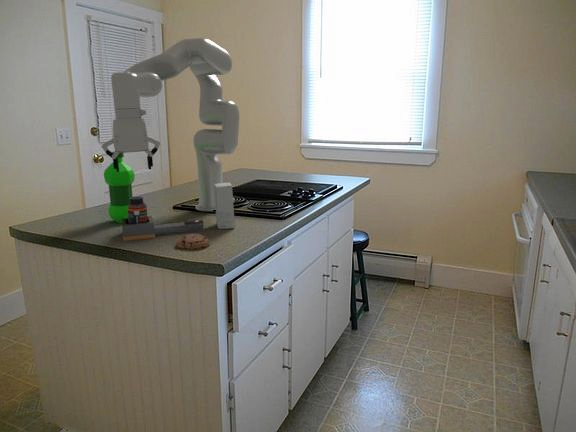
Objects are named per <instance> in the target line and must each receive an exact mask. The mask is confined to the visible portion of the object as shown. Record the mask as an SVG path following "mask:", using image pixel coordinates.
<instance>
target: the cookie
mask: <svg viewBox="0 0 576 432" xmlns="http://www.w3.org/2000/svg"><path fill="white" fill-rule="evenodd" d="M175 245H176V247H177V249H180V250H181V249H182V250H187V251H188V250H190V251H195V250H196V249H197V250H203V249H202V248H204V249H207V248H208V247H209V246H210V240H209V237H207V236H205V235H202V234H201V233H190V234H186V235H181V236H179V238H178V239H177V241H176V244H175Z"/></svg>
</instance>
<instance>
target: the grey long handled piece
mask: <svg viewBox="0 0 576 432" xmlns="http://www.w3.org/2000/svg"><path fill="white" fill-rule="evenodd" d="M147 219H148V222H146V223H135V224H129V222H128V218H121V222H122V223H121V230H122V231H121V232H122V239H123V240H122V242H125V241H128V242H129V241H135V240H146V239H155V238H156V236H159V235H160V236H162V235H172V234H180V233H181V234H182V233H192V232H200V231H201V232H202V231H204V220H203V219H195V220H194V219H193V220H185V221H182V222H174V223H173V222H172V223H163V224H155V222H154V219H153V217H152V215H147Z"/></svg>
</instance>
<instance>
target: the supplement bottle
mask: <svg viewBox="0 0 576 432" xmlns="http://www.w3.org/2000/svg"><path fill="white" fill-rule="evenodd" d="M127 209H128V222H129V224H135V223H146V222H148V219H147V216H148V208H147V204H146V203H145V202H144V197H143V196H133V197H131V198H130V204H129V205H128V207H127Z"/></svg>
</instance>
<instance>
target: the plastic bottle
mask: <svg viewBox="0 0 576 432" xmlns="http://www.w3.org/2000/svg"><path fill="white" fill-rule="evenodd" d="M111 152H112V153H114V151H111ZM124 155H125V154H124V152H122V153H121V152H120V153H119V154H118V156H117V158H118V166H119V171H118V172H117V170H116V169H114V164H113V162H111V163H110V164H109V165H108V166H107V167H106V168H105V169H104V172H103V178H104V182H105V183H106V184H107V185H108V190H109V201H110V204H109V207H108V214H109V217H110V218H111V219H112V220H113V221H114V222H116V223H118V224H120V223H121V224H122V222H121V218H128V209H127V207H128V205H129V204H130V198H131V197H134V196H133V188H132V184H133V182H134V181H135V178H136V177H135V172H134V170H133V168H132V167H130V166H129V165H128V163H125V162H124V161H123V158H124V157H125V156H124Z"/></svg>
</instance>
